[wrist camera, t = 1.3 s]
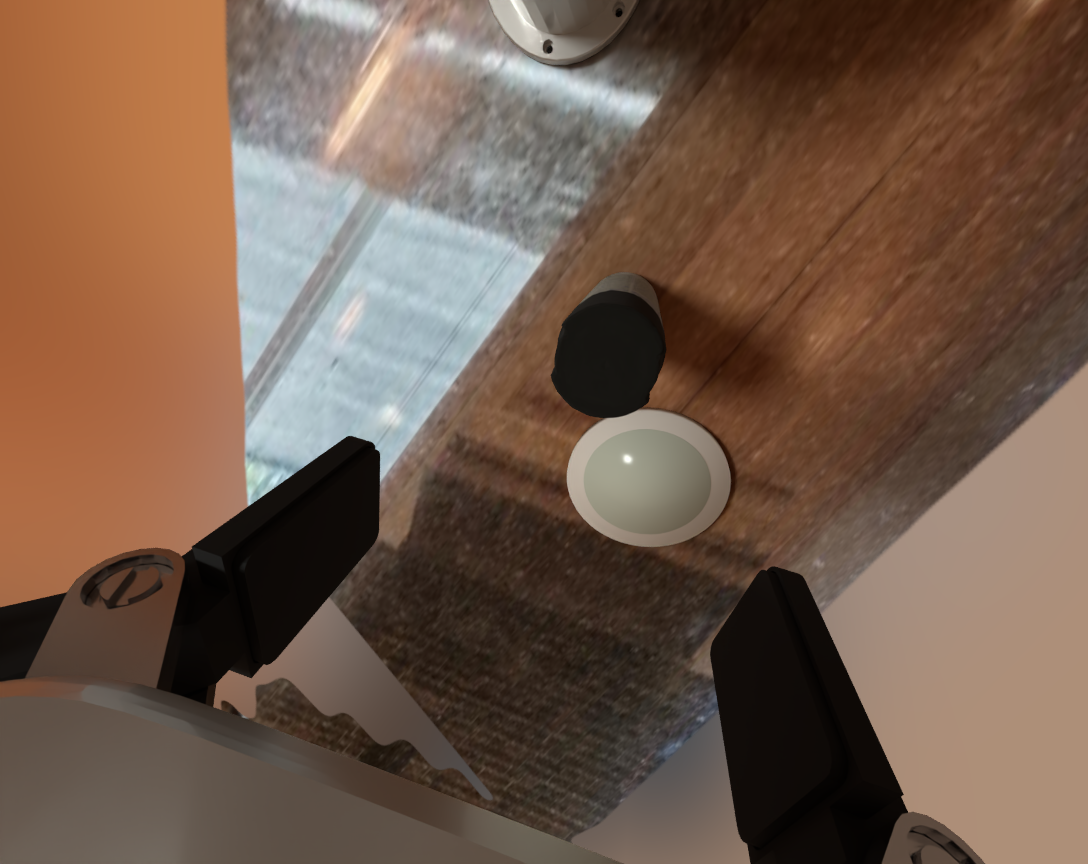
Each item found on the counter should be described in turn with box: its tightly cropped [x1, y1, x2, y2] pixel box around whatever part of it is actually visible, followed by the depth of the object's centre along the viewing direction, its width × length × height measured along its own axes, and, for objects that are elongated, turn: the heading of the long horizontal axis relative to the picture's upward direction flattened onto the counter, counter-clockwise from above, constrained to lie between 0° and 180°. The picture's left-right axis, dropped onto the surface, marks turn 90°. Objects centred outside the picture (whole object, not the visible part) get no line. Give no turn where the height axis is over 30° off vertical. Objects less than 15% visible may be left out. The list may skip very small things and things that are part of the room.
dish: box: [567, 407, 731, 547], centre depth 47 cm, size 18×18×1 cm
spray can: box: [551, 272, 666, 418], centre depth 31 cm, size 7×7×20 cm
